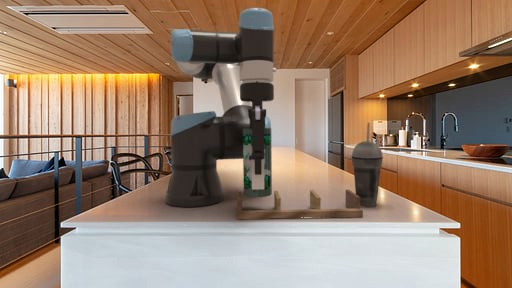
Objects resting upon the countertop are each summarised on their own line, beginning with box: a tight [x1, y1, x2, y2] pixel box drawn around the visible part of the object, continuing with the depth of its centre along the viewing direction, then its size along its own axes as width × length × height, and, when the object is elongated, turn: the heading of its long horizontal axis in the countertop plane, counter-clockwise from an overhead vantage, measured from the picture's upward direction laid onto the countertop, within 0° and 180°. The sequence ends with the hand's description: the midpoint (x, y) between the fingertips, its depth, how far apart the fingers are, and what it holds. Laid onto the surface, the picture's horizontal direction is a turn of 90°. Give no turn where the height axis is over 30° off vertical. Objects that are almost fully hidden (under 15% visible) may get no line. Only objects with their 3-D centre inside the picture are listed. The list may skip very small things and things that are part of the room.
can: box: [242, 127, 273, 199], centre depth 69 cm, size 6×6×15 cm
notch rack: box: [236, 189, 364, 220], centre depth 68 cm, size 27×9×4 cm, turn 91°
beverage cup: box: [351, 122, 384, 208], centre depth 74 cm, size 7×7×20 cm
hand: (257, 185), depth 69 cm, fingers closed on can, 6 cm apart
